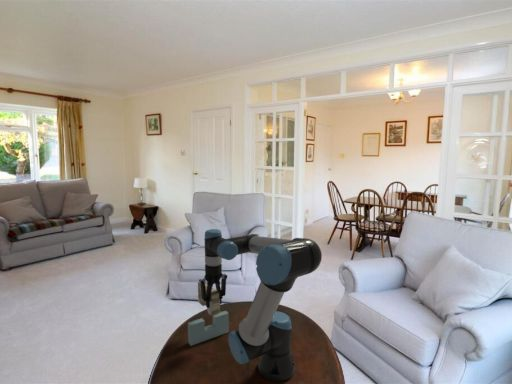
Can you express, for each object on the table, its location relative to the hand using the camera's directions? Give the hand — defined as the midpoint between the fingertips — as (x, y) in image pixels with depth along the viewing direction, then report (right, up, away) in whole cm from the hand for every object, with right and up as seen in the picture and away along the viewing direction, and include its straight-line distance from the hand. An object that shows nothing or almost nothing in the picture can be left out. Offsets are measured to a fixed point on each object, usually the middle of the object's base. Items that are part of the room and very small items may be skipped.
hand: (213, 312), depth 139 cm
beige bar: (-3, 0, +5) cm, 6 cm away
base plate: (-3, -15, +6) cm, 16 cm away
